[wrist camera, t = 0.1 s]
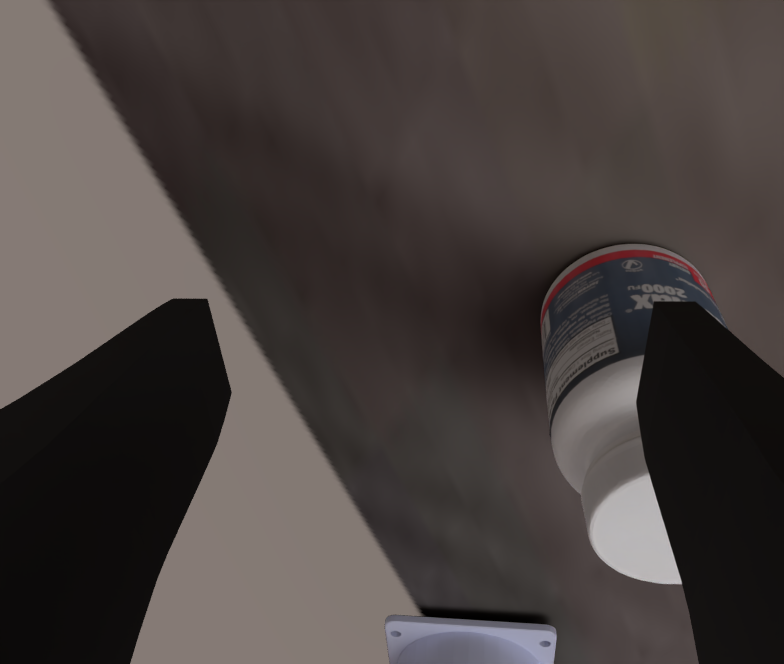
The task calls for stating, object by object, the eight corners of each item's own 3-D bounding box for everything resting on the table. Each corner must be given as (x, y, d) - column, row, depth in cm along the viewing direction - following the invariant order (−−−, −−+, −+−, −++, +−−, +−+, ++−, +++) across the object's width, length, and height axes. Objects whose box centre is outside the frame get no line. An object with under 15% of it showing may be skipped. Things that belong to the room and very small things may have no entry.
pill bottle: (746, 293, 22) (871, 521, 15) (629, 396, 25) (687, 629, 18) (612, 207, 21) (678, 409, 13) (506, 325, 23) (514, 543, 16)
